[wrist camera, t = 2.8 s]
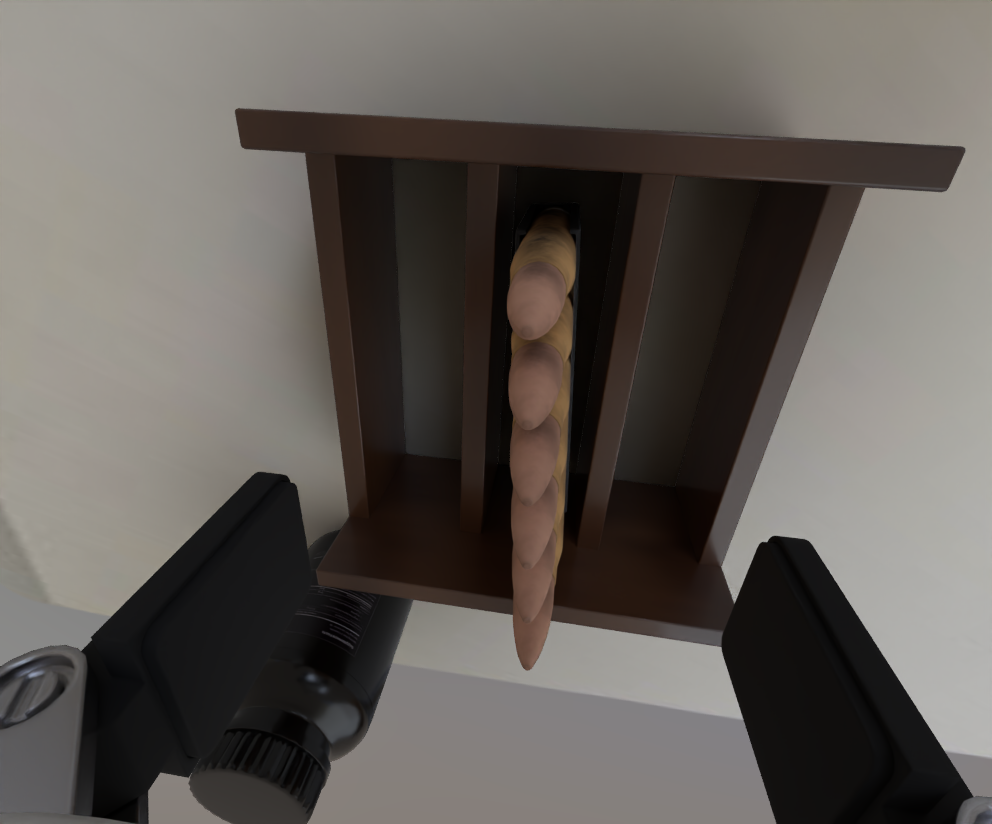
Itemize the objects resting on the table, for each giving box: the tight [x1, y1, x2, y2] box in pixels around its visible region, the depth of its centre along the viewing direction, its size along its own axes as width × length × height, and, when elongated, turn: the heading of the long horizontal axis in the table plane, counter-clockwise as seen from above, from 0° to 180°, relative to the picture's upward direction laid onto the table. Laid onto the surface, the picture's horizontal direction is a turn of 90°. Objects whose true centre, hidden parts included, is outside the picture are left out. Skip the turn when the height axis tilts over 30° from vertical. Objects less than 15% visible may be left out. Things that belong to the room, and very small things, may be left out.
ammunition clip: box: [507, 203, 581, 670], centre depth 15 cm, size 11×2×12 cm, turn 2°
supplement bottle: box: [189, 530, 413, 824], centre depth 24 cm, size 7×7×12 cm
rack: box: [235, 108, 965, 647], centre depth 17 cm, size 15×15×8 cm
